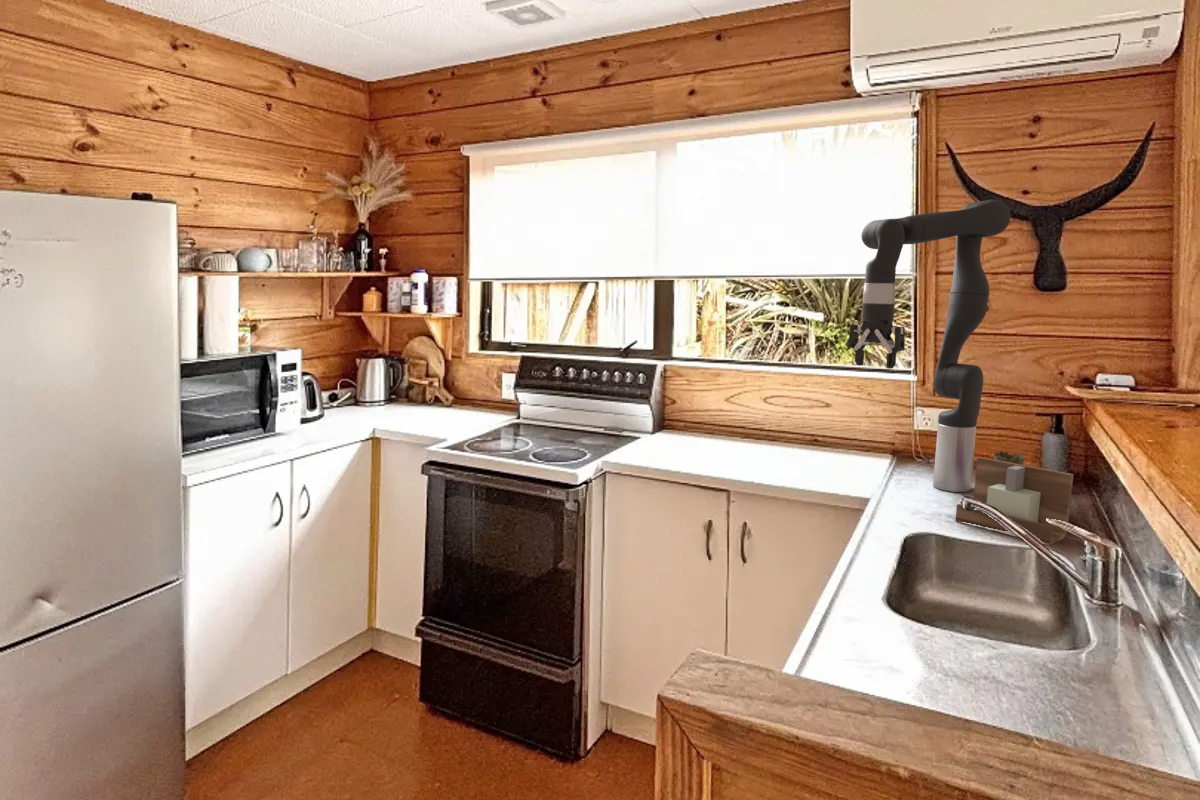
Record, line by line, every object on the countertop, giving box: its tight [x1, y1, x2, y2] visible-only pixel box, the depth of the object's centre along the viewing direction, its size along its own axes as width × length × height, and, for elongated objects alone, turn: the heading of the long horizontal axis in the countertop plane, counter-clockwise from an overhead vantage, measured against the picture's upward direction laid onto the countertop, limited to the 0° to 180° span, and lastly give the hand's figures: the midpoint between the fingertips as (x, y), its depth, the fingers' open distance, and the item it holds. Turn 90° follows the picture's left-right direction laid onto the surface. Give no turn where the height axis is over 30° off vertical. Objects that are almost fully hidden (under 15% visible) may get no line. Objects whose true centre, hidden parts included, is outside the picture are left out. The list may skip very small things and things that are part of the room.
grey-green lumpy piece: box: [993, 451, 1026, 465], centre depth 210 cm, size 8×7×8 cm
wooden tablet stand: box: [955, 456, 1074, 546], centre depth 169 cm, size 9×20×14 cm, turn 37°
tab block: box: [987, 466, 1041, 522], centre depth 170 cm, size 5×9×13 cm, turn 37°
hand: (874, 366), depth 193 cm, fingers open, 8 cm apart
